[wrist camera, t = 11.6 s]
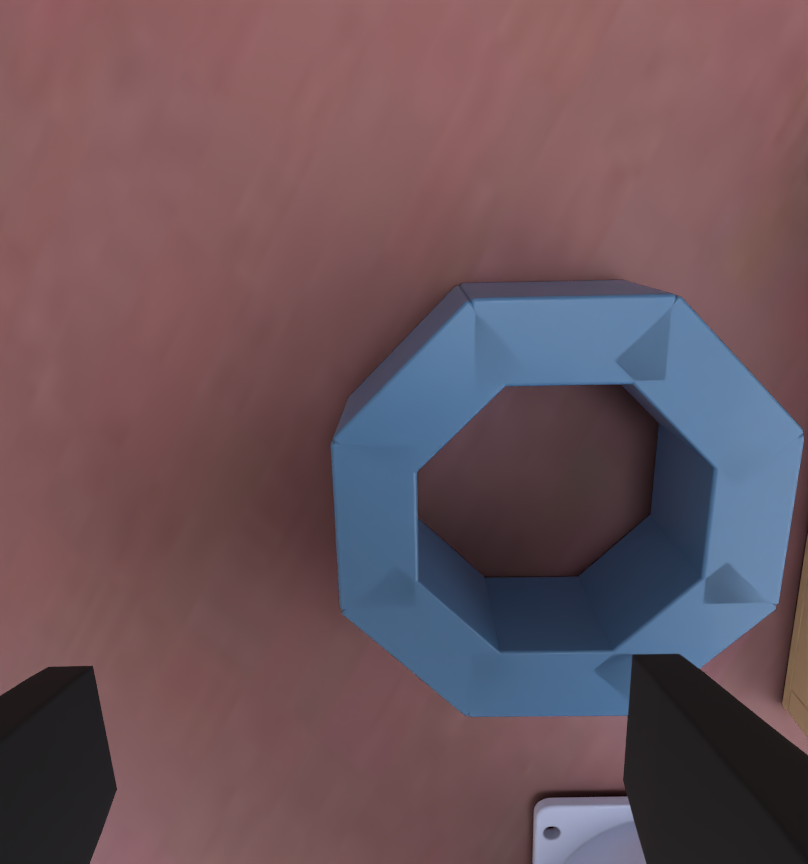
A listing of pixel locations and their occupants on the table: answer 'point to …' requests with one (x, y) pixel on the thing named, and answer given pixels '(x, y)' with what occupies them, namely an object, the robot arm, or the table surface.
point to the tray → (799, 658)
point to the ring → (621, 565)
